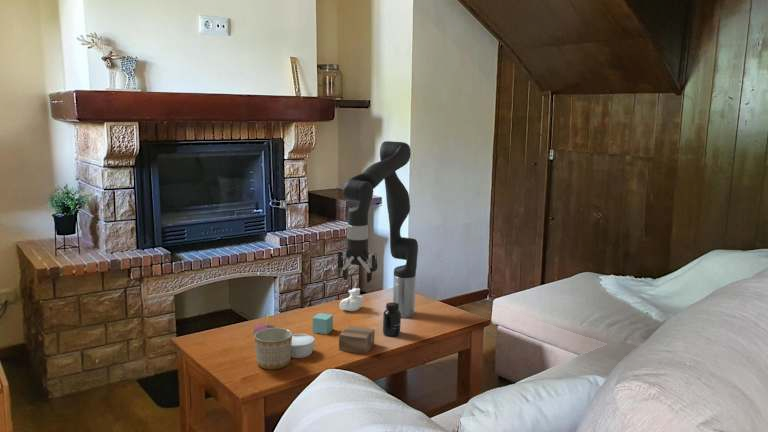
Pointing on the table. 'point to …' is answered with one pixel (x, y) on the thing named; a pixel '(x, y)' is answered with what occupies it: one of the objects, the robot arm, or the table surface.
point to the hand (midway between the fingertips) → (357, 280)
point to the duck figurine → (352, 301)
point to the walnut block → (356, 339)
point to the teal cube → (322, 323)
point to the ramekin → (301, 345)
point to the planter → (273, 347)
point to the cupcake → (262, 326)
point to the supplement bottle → (391, 319)
